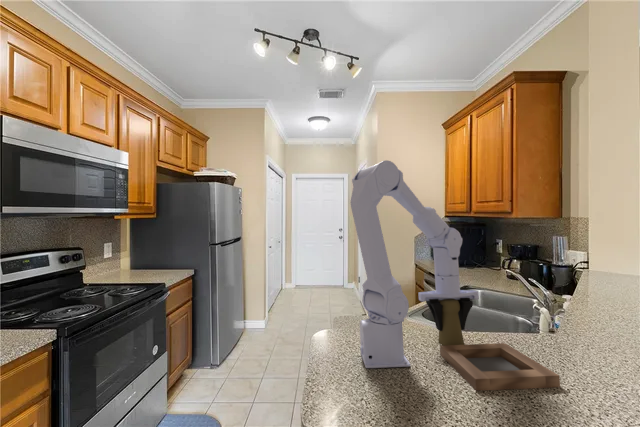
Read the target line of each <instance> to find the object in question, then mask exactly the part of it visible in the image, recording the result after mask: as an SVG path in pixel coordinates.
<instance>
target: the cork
mask: <svg viewBox="0 0 640 427" xmlns="http://www.w3.org/2000/svg"><path fill="white" fill-rule="evenodd" d="M439 302H440V304H442V305H443V308H442V326H443V329H442V331H439V330H438V344H439V345H440V346H446V345H465V341H464V335H463V330H461V325H460V320H459V315H458V312H459V310H460V304H459V302H458V300H456V299H444V300H439Z"/></svg>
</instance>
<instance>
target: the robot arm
mask: <svg viewBox="0 0 640 427" xmlns="http://www.w3.org/2000/svg"><path fill="white" fill-rule="evenodd" d="M351 184H352V186H353V187H352V193H351V196H350V203H349V204H350V208H351V212H352V217H353V222H354V225H355V231H356V235H357V240H358V243H359V248H360V253H361V257H362V262H363V265H364V269H365V274H366V280H365V281H364V283H363V284H362V290H363V292H362V293H363V294H362V304H363V305H362V306H363V307H364V309H365V310H366V311H367V316H368V318H366V319H361V320H360V321H359V340H360V346H359V349H360V356H361V359H362V361H363V363H364V366H365V367H364V368H366V369H380V368H381V369H382V368H401V367H402V368H404V367H411V363H410V361H409V359H407V357H406V355H405V354H404V352H405V351H404V350H405V349H404V334H403V333H404V332H403V323H404V321H405V319H406V317H407V315H408V313H409V310H410V303H409V299H408V297H407V296H406V295H405V294H404V291H403V289H402V285H401V284H400V282H399V281H398V280H397V279H396V278H395V277H394V275H392V271H391V266H390V262H389V261H390V260H389V256H388V253H387V249H386V244H385V241H384V240H385V239H384V235H383V231H382V230H383V229H382V226H381V222H380V221H381V220H380V218H379V217H380V216H379V212H378V209H377V208H378V205H379V203H380V201H381V200H382V199H383V197H384V196H385V197H386V196H387V197H391V198H393V199H394V200H395V201H396V202H397V203H398V204H400V206H402V207H403V208H404V209H405V210H406V211H407V212H408V213H409V214H410V215H412V223H413V224H414V226H416V228H417V229H419V231H421V232H422V234H423V235H424V236H425V238H426V240H427V241H426V242H427V245H428V246H429V247H430V248H431V249H432V252H433V264H434V283H435V290H430V291H429V290H428V291H420V292H417V293H418V301H420V302H425V304H426V305H427V306H428V308H429V310H430V312H431V314H432V318H433V319H434V320H433V321H434V323H435V328H436V329H437V330H438V332H439V331H442V329H443V326H442V308H443V305H442V304H440V302H439V300H444V299H456V300H458V302H459V304H460V310H459V312H458V315H459V320H460V325H461V330H462V331H464V330H465V327H466V323H467V318H468V316H469V313H470V311H471V309H472V308H473V305H474V303H473V302H474V301H473V300H475V301H476V300H479V298H480V297H479V291H477V290H473V289H469V290H468V289H467V290H466V289H461V286H460V285H461V283H460V280H461V279H460V269H459V268H460V267H459V266H460V264H459V257H460V255H461V247H462V245H463V237H462V236H461V233H460V232H459V230H457V229H456V227H455V228H454V227H450V226H449V225H448V224H447V222H445V220H444V219H443V218H442V217H441V216H440V215H439V214H438V213H437V210H436V209H435V208H434V207H431V206H424V205H423V204H422V202H421V201H420V200H419V198H418V197H417V196H416V194H415V193H414V192H413V190H411V189H410V187H409V186H408V184H407V183H406V182H405V181H404V173H403V171H402V170H400V169H399V168H398V165H396V163H394V162H393V161H391V160H387V159H386V160H382V161H380V162H378V163H376V164H373V165H371V166H368V167H366V168H362V169H360V170H358V171H357V173H356V174H355V175H354V176H353V178H352V179H351Z"/></svg>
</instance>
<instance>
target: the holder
mask: <svg viewBox="0 0 640 427" xmlns="http://www.w3.org/2000/svg"><path fill="white" fill-rule="evenodd" d="M439 355H440V356H441V357H442V358H443V359H444V361H446V362H447V363H448V364H449V365H450V366H451V367H452V368H453V369H454V370H455V371H456V372H457V373H458V374H459V375H460V376H461V377H462V378H463V379H464V380H465V382H467V383H468V384H469V385H470V386H471V388H473V389H474V390H475V391H477V392H478V391H481V390H482V391H499V390H500V391H501V390H502V391H503V390H506V391H507V390H522V389H523V390H524V389H526V390H527V389H549V388H551V389H552V388H561V381H560V375H559V374H558V373H556V372H554V371H552V370H551V369H549V368H547V367H546V366H544V365H542V364H541V363H539V362H537V361H536V360H534V359H533V358H530V357H529V356H527V355H525V354H524V353H522V352H521V351H519V350H517V349H516V348H514V347H512V346H510V345H509V344H507V343H505V342H501V343H499V342H498V343H497V342H495V343H479V344H478V343H477V344H476V343H475V344H474V343H473V344H464V345H446V346H443V345H439Z"/></svg>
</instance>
